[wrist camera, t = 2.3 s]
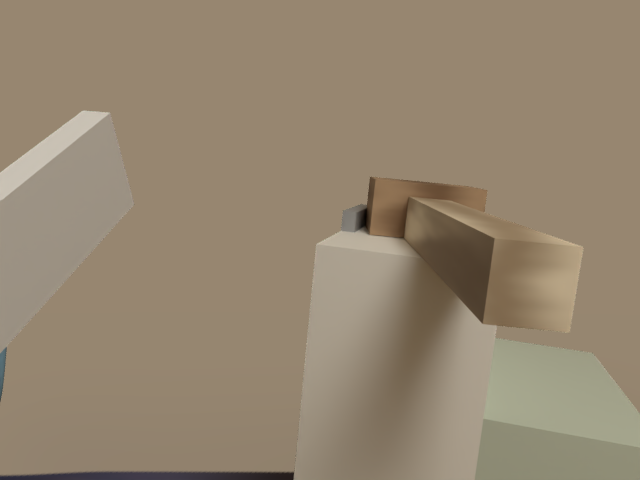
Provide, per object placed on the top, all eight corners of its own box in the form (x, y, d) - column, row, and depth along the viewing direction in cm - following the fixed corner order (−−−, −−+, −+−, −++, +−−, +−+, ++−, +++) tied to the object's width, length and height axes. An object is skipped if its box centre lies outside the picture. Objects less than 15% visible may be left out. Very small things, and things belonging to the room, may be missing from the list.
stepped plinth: (275, 667, 39) (318, 219, 35) (330, 513, 56) (363, 203, 52) (609, 764, 34) (706, 266, 30) (556, 565, 52) (613, 231, 48)
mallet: (410, 317, 20) (424, 201, 19) (364, 225, 48) (370, 176, 47) (642, 340, 20) (663, 225, 19) (461, 234, 48) (467, 186, 47)
